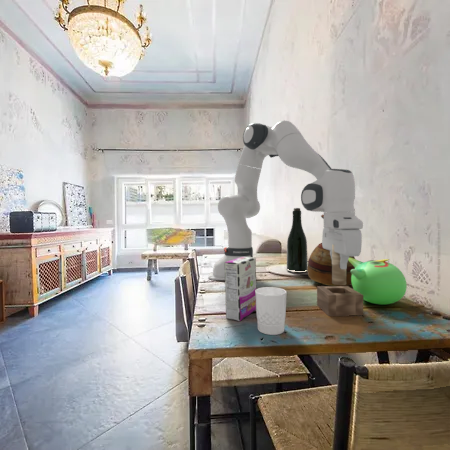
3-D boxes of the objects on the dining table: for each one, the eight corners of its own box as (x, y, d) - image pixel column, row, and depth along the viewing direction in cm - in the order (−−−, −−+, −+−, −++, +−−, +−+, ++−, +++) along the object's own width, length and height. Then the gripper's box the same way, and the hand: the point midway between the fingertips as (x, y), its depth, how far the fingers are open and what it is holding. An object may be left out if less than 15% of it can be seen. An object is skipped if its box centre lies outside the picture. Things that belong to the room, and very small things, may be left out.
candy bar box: (243, 307, 87) (242, 256, 86) (257, 310, 84) (256, 257, 83) (224, 318, 77) (223, 261, 77) (239, 322, 74) (239, 262, 74)
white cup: (267, 339, 64) (267, 297, 64) (249, 327, 71) (249, 289, 71) (293, 332, 68) (293, 292, 67) (273, 321, 75) (273, 285, 74)
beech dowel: (335, 285, 81) (335, 245, 81) (330, 282, 85) (330, 244, 85) (348, 285, 81) (348, 245, 80) (342, 281, 85) (342, 243, 84)
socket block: (328, 316, 78) (328, 295, 78) (317, 304, 88) (317, 286, 88) (363, 315, 78) (363, 295, 78) (347, 304, 88) (347, 286, 88)
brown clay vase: (310, 289, 107) (310, 213, 106) (304, 277, 127) (304, 213, 126) (364, 291, 103) (364, 212, 102) (349, 279, 123) (349, 213, 122)
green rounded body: (414, 314, 79) (415, 264, 78) (350, 308, 84) (351, 261, 84) (396, 296, 96) (397, 255, 95) (344, 293, 101) (345, 253, 101)
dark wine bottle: (296, 268, 148) (296, 208, 147) (311, 271, 140) (311, 207, 138) (282, 270, 143) (282, 208, 142) (297, 274, 134) (297, 207, 133)
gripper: (317, 221, 93) (317, 261, 93) (342, 222, 72) (342, 274, 73) (335, 221, 93) (335, 261, 93) (366, 222, 72) (366, 273, 73)
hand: (339, 267), depth 83 cm, fingers closed on beech dowel, 4 cm apart
